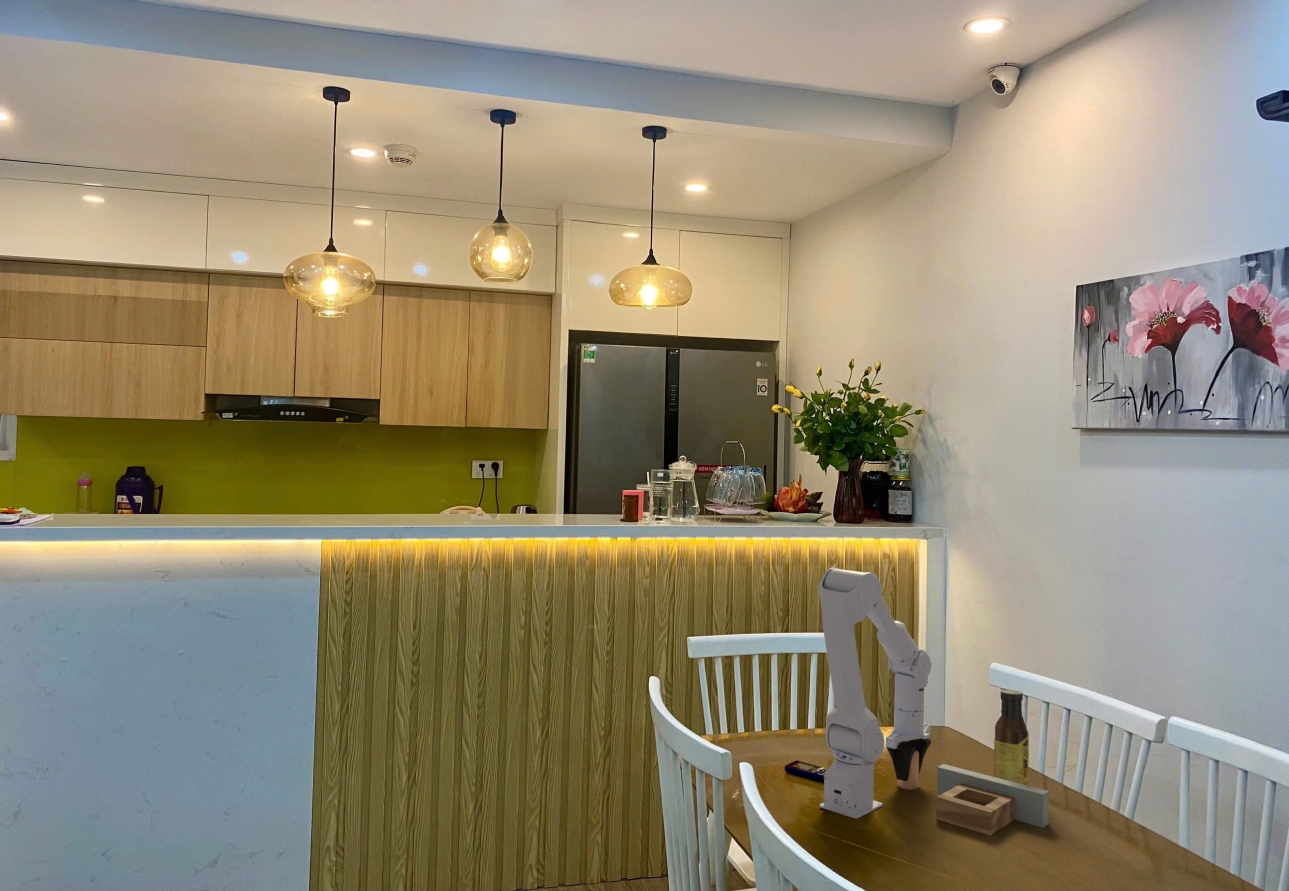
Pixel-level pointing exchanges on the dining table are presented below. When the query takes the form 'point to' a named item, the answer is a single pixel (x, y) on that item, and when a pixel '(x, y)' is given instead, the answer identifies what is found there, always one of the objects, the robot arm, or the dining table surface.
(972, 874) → the dining table surface
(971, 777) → the backstop
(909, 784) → the dowel
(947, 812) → the socket block
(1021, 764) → the sauce bottle
